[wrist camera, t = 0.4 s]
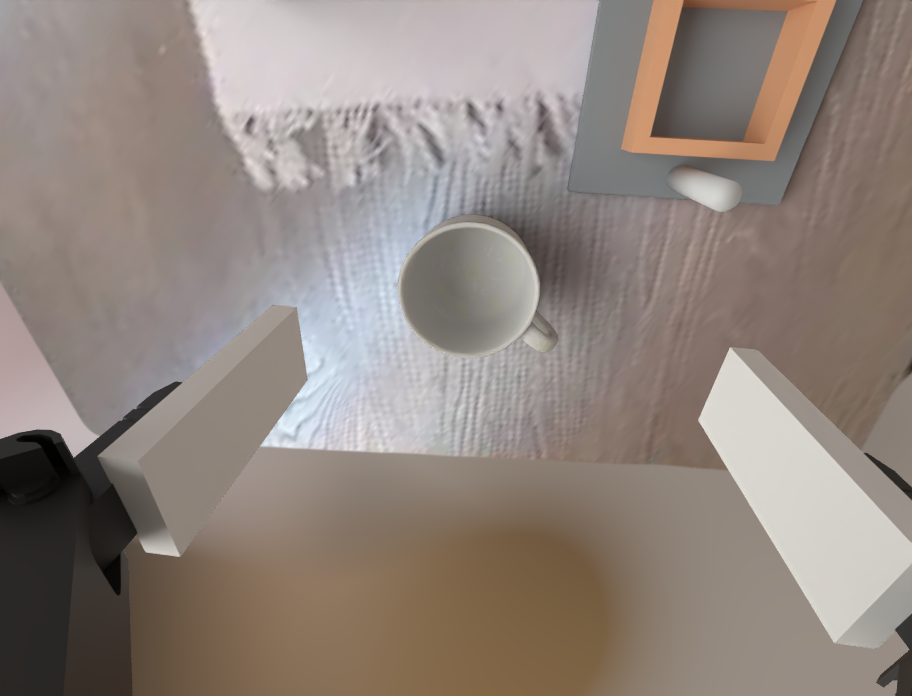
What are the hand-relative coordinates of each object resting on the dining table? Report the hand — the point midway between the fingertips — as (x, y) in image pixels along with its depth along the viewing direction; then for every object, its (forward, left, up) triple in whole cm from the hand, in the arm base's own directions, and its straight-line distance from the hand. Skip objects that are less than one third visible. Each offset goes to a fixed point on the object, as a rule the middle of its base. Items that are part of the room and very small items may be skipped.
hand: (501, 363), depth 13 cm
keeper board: (-10, +13, -26) cm, 31 cm away
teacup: (+6, -1, -26) cm, 27 cm away
